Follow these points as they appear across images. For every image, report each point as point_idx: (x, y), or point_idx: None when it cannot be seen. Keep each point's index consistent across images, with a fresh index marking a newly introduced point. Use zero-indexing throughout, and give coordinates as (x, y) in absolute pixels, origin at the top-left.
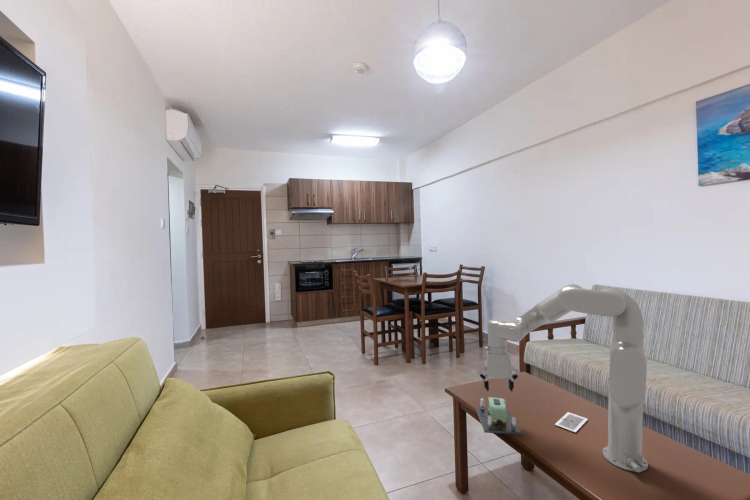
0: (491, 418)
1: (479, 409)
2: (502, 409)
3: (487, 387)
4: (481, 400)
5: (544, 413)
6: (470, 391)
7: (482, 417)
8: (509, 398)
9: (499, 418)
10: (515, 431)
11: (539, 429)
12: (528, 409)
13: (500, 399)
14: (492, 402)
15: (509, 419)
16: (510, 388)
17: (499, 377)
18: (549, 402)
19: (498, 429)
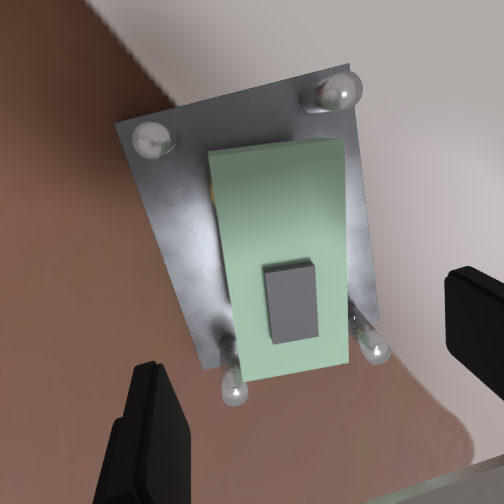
0: (329, 80)
1: (363, 309)
2: (246, 195)
3: (500, 284)
4: (381, 339)
5: (8, 419)
6: (388, 475)
7: (352, 224)
8: (200, 488)
9: (262, 145)
10: (149, 119)
11: (12, 234)
12: (97, 425)
13: (260, 360)
14: (324, 289)
15: (193, 261)
16: (163, 394)
17: (468, 486)
18: None
19: (259, 105)
